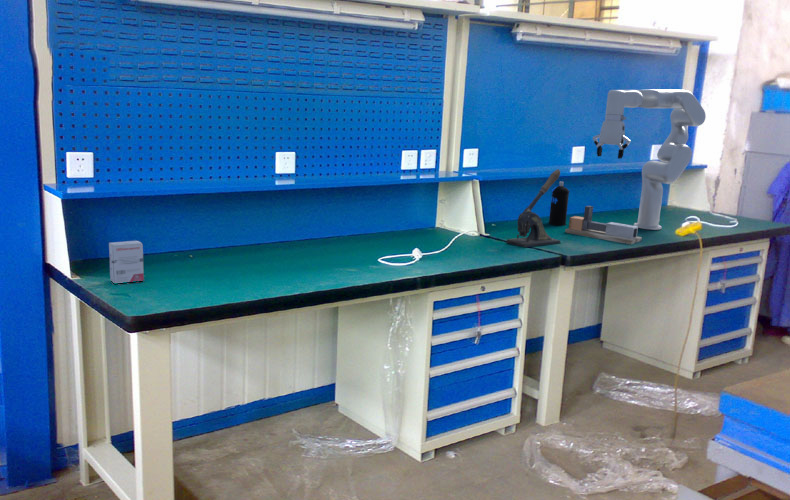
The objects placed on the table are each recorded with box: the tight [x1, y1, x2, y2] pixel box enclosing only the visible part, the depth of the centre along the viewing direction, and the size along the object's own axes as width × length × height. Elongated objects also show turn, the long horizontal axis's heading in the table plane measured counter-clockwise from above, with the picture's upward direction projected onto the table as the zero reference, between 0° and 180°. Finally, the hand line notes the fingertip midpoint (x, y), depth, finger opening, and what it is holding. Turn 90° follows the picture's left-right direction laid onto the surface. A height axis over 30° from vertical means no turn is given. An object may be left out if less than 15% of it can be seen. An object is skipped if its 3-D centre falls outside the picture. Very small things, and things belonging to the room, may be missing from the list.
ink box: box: [108, 240, 145, 284], centre depth 212 cm, size 9×5×12 cm, turn 124°
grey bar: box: [582, 205, 607, 232], centre depth 319 cm, size 4×16×10 cm, turn 51°
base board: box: [565, 227, 643, 245], centre depth 319 cm, size 12×30×2 cm, turn 51°
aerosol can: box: [547, 181, 570, 227], centre depth 340 cm, size 8×8×20 cm
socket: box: [568, 215, 584, 231], centre depth 325 cm, size 6×6×5 cm
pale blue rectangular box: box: [605, 221, 639, 239], centre depth 313 cm, size 5×12×5 cm, turn 51°
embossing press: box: [505, 169, 561, 248], centre depth 294 cm, size 11×24×30 cm, turn 126°
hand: (609, 157), depth 326 cm, fingers open, 9 cm apart
